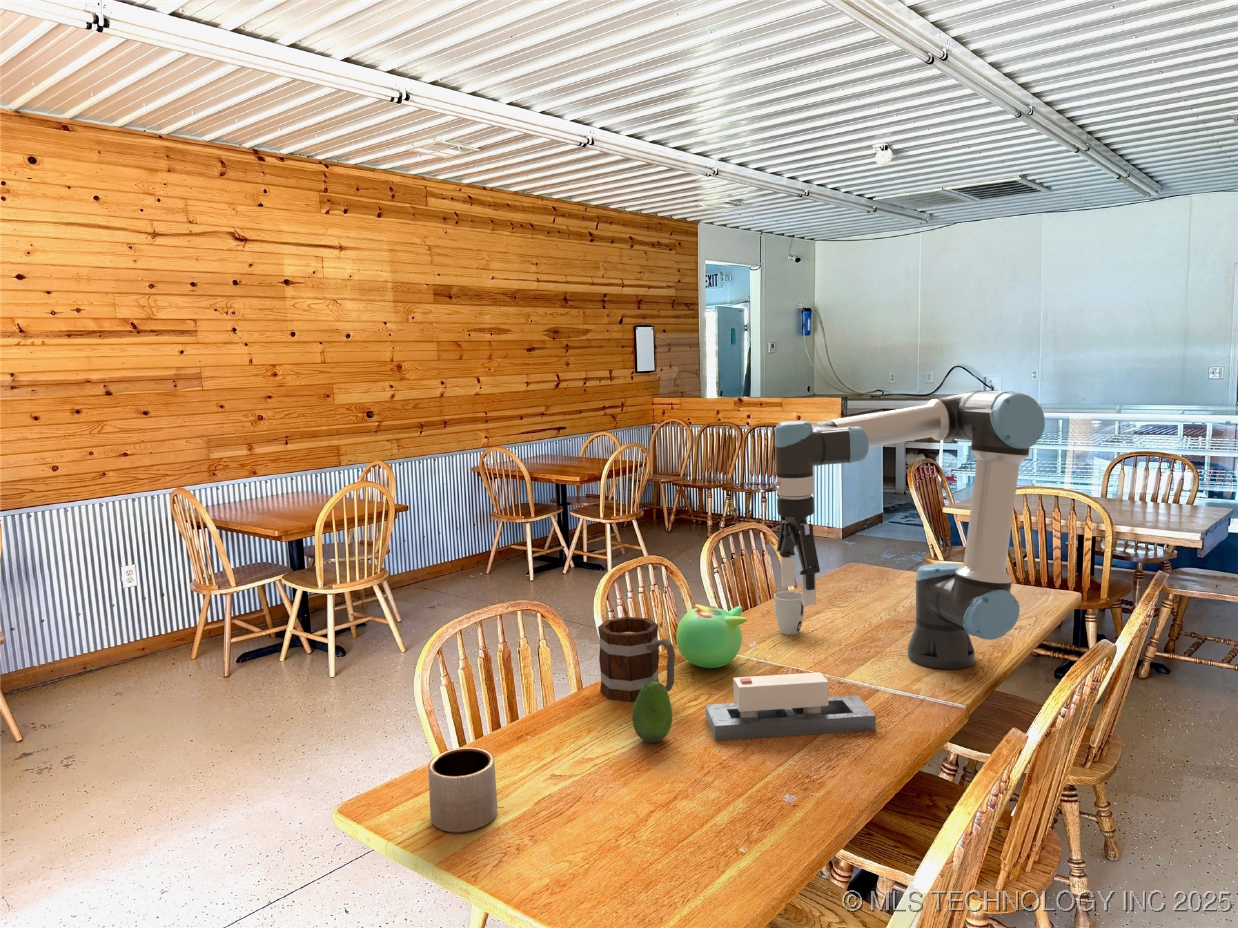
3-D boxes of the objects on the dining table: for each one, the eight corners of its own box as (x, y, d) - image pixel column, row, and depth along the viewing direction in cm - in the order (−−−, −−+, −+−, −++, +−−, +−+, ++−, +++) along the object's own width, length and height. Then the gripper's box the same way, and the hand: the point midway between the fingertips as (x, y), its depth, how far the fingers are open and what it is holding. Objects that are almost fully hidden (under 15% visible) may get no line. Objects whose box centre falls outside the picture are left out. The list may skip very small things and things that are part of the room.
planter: (435, 801, 142) (432, 748, 141) (499, 797, 143) (496, 744, 142) (426, 837, 131) (422, 780, 130) (495, 832, 132) (492, 775, 131)
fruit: (625, 735, 165) (623, 677, 163) (661, 727, 168) (660, 670, 166) (642, 752, 157) (641, 692, 156) (680, 744, 160) (678, 684, 159)
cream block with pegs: (820, 716, 171) (820, 669, 169) (828, 727, 166) (828, 679, 164) (733, 722, 169) (733, 675, 168) (739, 733, 164) (738, 684, 163)
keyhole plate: (857, 708, 174) (857, 695, 173) (875, 730, 164) (875, 715, 164) (705, 718, 171) (705, 704, 171) (715, 740, 161) (714, 725, 161)
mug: (587, 691, 187) (585, 627, 185) (627, 674, 197) (626, 612, 195) (654, 715, 174) (652, 646, 172) (693, 695, 184) (692, 629, 182)
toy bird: (675, 651, 211) (674, 595, 209) (742, 650, 210) (741, 594, 208) (678, 678, 193) (676, 617, 191) (751, 677, 192) (750, 616, 191)
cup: (805, 637, 218) (805, 600, 217) (773, 636, 220) (773, 599, 219) (804, 627, 226) (804, 591, 225) (774, 626, 228) (774, 590, 227)
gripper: (760, 488, 185) (764, 580, 188) (797, 508, 160) (800, 614, 163) (793, 485, 185) (796, 577, 188) (834, 504, 161) (837, 610, 164)
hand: (798, 595), depth 176 cm, fingers open, 13 cm apart
